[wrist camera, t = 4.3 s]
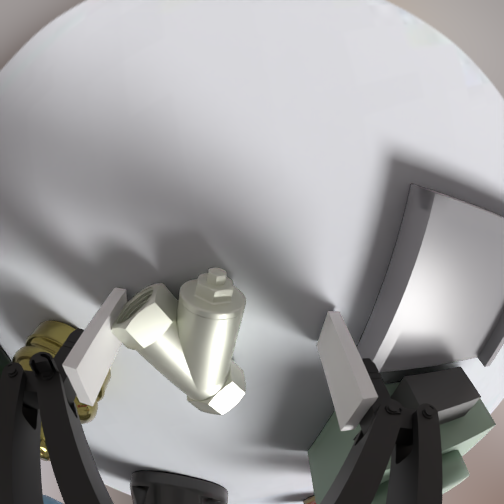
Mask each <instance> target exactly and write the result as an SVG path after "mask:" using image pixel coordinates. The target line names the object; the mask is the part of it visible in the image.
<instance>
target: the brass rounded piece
mask: <svg viewBox="0 0 504 504" xmlns="http://www.w3.org/2000/svg"><path fill="white" fill-rule="evenodd" d="M74 330H76V329H75V328H73V327H71V326H69V325H67V324H64V323H62V322H58V321H51V320H49V321H44V322H42V323H41V324H39V326H38V327H37V328H36V329H35V331H34V332H33V333H32V334H31V335H30V336H29V337H28V338H27V339H26V342H25V347H22V348H20V349H19V350H18V351H17V352H16V353H15V354H14V356H13V360H12V362H17V363H19V364H20V365H21V366H22V368H23V369H24V370H28V371H32V369H31V367H30V365H29V361H30V359H31V357H32V356H33V355H34V354H36V353H38V352H47V353H50V354H51V355H52V357H53V358H54V357H55V355H56V354H57V352H58V351H59V349H60V348H61V346H63V343H64V342H65V341H66V339H67V338H68V336H69V335H70V333H72V332H73V331H74ZM110 378H111V372H110V369H109V372H108V374H107V376H106V378H105V380H104V382H103V385H102V387H101V389H100V391H99V394H98V396H97V398H96V400H95V403H94V405H93V406H90V405H87V404H84V403H81V402H80V401H79V399H78V397H77V395H76V397H75V399H74V402H75V404H76V408H77V411H78V415H79V418H80V422H81V424H86V423H89V422H91V421H92V420H93V419H94V418H95V416H96V414H97V409H98V403H97V402H99V401H101V400H102V399H103V397H104V393H105V390H106V388H107V385H108V383H109V381H110ZM40 459H42V460H44V461H50V457H49V454H48V450H47V446H46V441H45V437H44V432H43V427H42V422H41V435H40Z"/></svg>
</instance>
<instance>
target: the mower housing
mask: <svg viewBox="0 0 504 504" xmlns="http://www.w3.org/2000/svg"><path fill="white" fill-rule="evenodd" d="M385 386H386V388H387V390H388V392H389V394H390V397H391V399H394V400H396V401H398V402H399V403H400V404H401V405H402V406H403V408H409V409H417V408H418V407H419V406H420V405H421V404H423V403H427V404H431V405H432V406H434V407H435V408H436V410H437V412H438V416H439V425H440V435H441V448H442V475H443V485H442V494H443V493H445V492H447V491H448V490H450V489H452V488H453V487H455V486H456V485H458V484H459V483H461V482H462V481H463V480H465V479H466V478H467V477H468V476H469V472H468V470H467V467H466V465H465V463H464V461H463V458H462V456H463V455H464V454H465V453H467V451H469V450H470V449H471V448H472V447H473V446H474V445H475V444H477V443H478V442H479V441H480V440H481V439H482V438H483V437H484V436H485V435H486V434H487V433H488V432H489V431H490V430H491V429H492V428H493V427H494V426H495V425H496V424H495V422H494V421H493V419H492V417H491V415H490V414H489V412H488V410H487V409H486V407H485V406H484V404H483V402H482V401H481V399H480V397H481V396H480V394H479V393H478V391H477V390H476V388H475V387H474V385H473V384H472V382H471V381H470V379H469V378H468V377H467V375H466V374H465V372H464V371H463V369H462V368H461V367H456V368H452V369H447V370H441V371H436V372H430V373H424V374H418V375H411V376H404V378H403V379H402V381H401V382H398V383H390V384H385ZM360 430H361V427H360V424H358V426H357V427H356V428H355V429H354V430H346V431H341V430H340V427H339V423H338V419H337V415H336V412H335V411H334V413H333V414H332V416H331V417H330V419H329V421H328V422H327V424H326V425H325V427H324V428H323V430H322V431H321V433H320V434H319V436H318V437H317V439H316V440H315V442H314V443H313V445H312V446H311V447H310V449H309V450H308V458H309V464H310V470H311V476H312V483H313V489H314V495H315V502H316V504H320V503H321V501H322V500H323V498H324V497H325V495H326V493H327V492H328V490H329V488H330V487H331V485H332V483H333V482H334V480H335V478H336V476H337V475H338V473H339V471H340V469H341V467H342V465H343V464H344V462H345V460H346V458H347V456H348V454H349V452H350V450H351V448H352V446H353V444H354V442H355V441H354V440H353V439H354V438H355V436H356V435H357V434H358V433H359V432H360ZM390 466H391V457H390V460H389V462H388V465H387V468H386V470H385V473H384V475H383V478H382V480H381V483H380V485H379V487H378V490H377V492H376V494H375V497H374V499H373V501H372V503H371V504H386V499H387V492H388V484H389V476H390Z"/></svg>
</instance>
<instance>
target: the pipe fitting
mask: <svg viewBox="0 0 504 504" xmlns="http://www.w3.org/2000/svg"><path fill="white" fill-rule="evenodd" d="M245 305H246V298H245V296H244V294H243V293H242V292H241V291H240V290H239V289H238V288H236V287H235V286H233V281H232V280H231V279H230V278H228V277H226V271H225V270H223V269H220V268H209V270H208V273H203V274H200V275H199V276H198V279H193V280H189V281H187V282H185V283H184V284H183V285H182V286H181V288H180V291H179V300H177V299H176V298H175V297H174V296H173V294H172V293H171V292H170V291H169V290H168V289H167V287H166V286H165V285H164V284H163V283H157V284H152V285H150V286H148V287H146V288H144V289H143V290H141V291H140V292H139V293H137V294H136V295H135V296H134V297H133V298H132V299H130V300H129V301H128V302H127V303H126V304H125V305H124V307H123V308H122V310H121V312H120V314H119V316H118V317H117V319H116V320H115V322H114V323H113V325H112V328H111V332H112V333H113V334H114V335H115V336H116V337H117V338H118V339H119V340H120V341H121V342H122V343H123V344H124V345H125V346H126V347H127V348H129V349H133V350H136V351H137V352H138V353H139V354H141V355H142V356H143V357H144V358H145V359H146V360H147V361H148V362H149V363H150V364H151V365H152V366H153V367H155V368H156V369H157V370H158V371H159V372H160V373H161V374H162V375H163V376H165V377H166V378H167V379H168V380H169V381H170V382H172V383H173V384H174V385H175V386H176V387H178V388H179V389H180V390H181V391H182V392H184V393H185V394H186V395H187V401H188V402H190V403H191V404H192V405H194V406H195V407H196V408H198V409H199V410H200V411H203V412H206V413H210V414H216V415H223V414H224V413H226V412H227V411H229V410H230V409H231V408H233V407H234V406H235V405H236V404H237V403H238V402H239V401H240V400H241V398H242V397H243V396H244V394H245V391H246V383H245V376H244V372H243V370H242V369H241V368H240V367H239V366H238V365H237V364H236V363H235V362H234V361H233V360H232V356H233V352H234V348H235V344H236V340H237V336H238V332H239V329H240V325H241V321H242V317H243V313H244V309H245Z"/></svg>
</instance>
